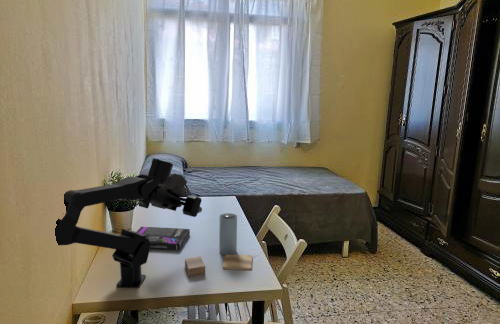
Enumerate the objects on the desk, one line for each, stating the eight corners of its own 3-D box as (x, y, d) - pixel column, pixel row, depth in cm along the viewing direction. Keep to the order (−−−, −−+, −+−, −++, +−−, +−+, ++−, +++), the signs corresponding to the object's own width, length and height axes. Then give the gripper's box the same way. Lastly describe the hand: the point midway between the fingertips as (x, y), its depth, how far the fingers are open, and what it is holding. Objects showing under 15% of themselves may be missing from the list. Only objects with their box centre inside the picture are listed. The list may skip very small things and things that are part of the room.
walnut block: (205, 275, 108) (205, 266, 108) (188, 277, 107) (188, 268, 106) (200, 265, 115) (200, 256, 114) (185, 267, 113) (184, 258, 113)
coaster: (251, 269, 112) (251, 267, 112) (222, 268, 112) (222, 267, 112) (252, 256, 121) (252, 255, 121) (225, 256, 121) (225, 254, 121)
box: (126, 250, 126) (180, 252, 125) (125, 241, 126) (179, 243, 124) (141, 234, 140) (190, 236, 138) (141, 226, 139) (190, 227, 137)
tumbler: (236, 255, 121) (236, 218, 119) (218, 255, 122) (218, 218, 119) (237, 248, 127) (237, 213, 125) (220, 247, 127) (220, 212, 125)
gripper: (190, 175, 106) (219, 189, 119) (147, 167, 116) (178, 181, 129) (179, 211, 104) (209, 222, 116) (136, 200, 113) (168, 211, 126)
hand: (191, 207), depth 122 cm, fingers open, 9 cm apart
